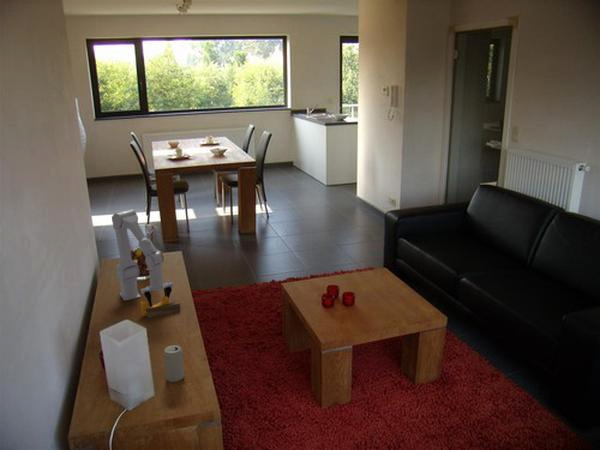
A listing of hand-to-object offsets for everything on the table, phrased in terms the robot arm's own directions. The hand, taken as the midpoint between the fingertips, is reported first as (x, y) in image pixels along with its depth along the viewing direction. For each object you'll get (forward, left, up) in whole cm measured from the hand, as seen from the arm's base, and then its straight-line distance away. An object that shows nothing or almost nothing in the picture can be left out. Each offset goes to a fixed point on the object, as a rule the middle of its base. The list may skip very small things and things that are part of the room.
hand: (158, 304), depth 236 cm
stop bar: (+7, 0, -2) cm, 7 cm away
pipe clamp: (+3, -3, -2) cm, 5 cm away
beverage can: (+60, -13, -2) cm, 61 cm away
